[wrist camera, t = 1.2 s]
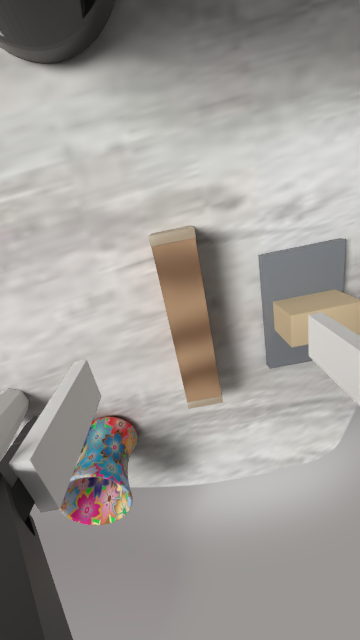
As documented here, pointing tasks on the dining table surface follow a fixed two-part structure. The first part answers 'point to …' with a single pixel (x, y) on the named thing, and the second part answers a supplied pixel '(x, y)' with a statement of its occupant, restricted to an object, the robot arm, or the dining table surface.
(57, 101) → the dining table surface
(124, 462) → the mug
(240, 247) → the dining table surface
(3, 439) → the low poly bottle
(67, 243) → the dining table surface
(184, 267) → the beam
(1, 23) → the robot arm
